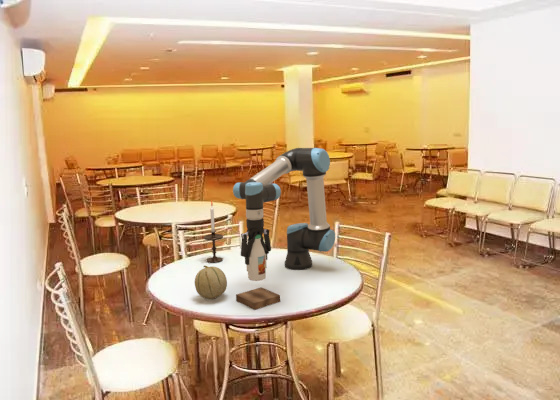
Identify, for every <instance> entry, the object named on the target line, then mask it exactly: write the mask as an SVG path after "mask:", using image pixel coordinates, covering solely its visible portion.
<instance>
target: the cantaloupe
mask: <svg viewBox="0 0 560 400" xmlns="http://www.w3.org/2000/svg"><path fill="white" fill-rule="evenodd" d="M194 287H195V288H194V289H195V290H196V292H197V294H198V295H199V296H200V297H202V298H204V299H208V300H214V299H217V298H218V297H220V296H222V295H224V293H225V291H227V287H228V278H227V277H226V273H224V271H223V269H221V268H219V267H217V266H208V265H204V266H203V268H202V269H200V270H199V271H198V272H197V273H196V275H195V278H194Z"/></svg>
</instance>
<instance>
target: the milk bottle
mask: <svg viewBox="0 0 560 400" xmlns="http://www.w3.org/2000/svg"><path fill="white" fill-rule="evenodd" d="M260 239H261V235H259V234H258V235H257V236H256V237H255V241H254V243H253V246H252V250H251V253H250V257H251V266H252V272H248V271H247V277H248V280H249V281H252V282H259V281H264V280H265V279H266V274H267V272H266V269H267V268H265V251H264V248H263V246H262V244H261V241H260ZM251 240H252V239H251Z"/></svg>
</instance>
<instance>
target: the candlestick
mask: <svg viewBox="0 0 560 400" xmlns="http://www.w3.org/2000/svg"><path fill="white" fill-rule="evenodd" d="M210 203H211V204H210V225H211V226H210V227H211V228H210V229H211V231H209V233H211V234H206V235H204V236H203V240H205V241H212V247H211V250H212V251H211V253H212V255H213V256H212V257H208V258H207V259H206V263H208V264H217V263H222V262H223V261H224V259H223V258H222V257H220V256H217V251H216V250H217V247H216V241H220V240H223V238H224V235H223V234H219V233H217V232H218V231H216V230H215V228H216V227H215V209H214V207H213V205H214V204H213V200H211V201H210Z"/></svg>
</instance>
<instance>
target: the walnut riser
mask: <svg viewBox="0 0 560 400" xmlns="http://www.w3.org/2000/svg"><path fill="white" fill-rule="evenodd" d="M235 301H236V302H237V303H240V304H241V305H244V307H245V306H246V307H248V308H249V309H251V310H254V311H255V310H258V309H259V310H260V309H263V308H266V307H268V306H271V305H274V304H277V303H280V302H281V294H278V293H276V292H274V291H272V290H269V289H266V288H264V287H262V286H261V287H257V288H254V289H251V290H247V291H244V292H240V293H237V294H235Z"/></svg>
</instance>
